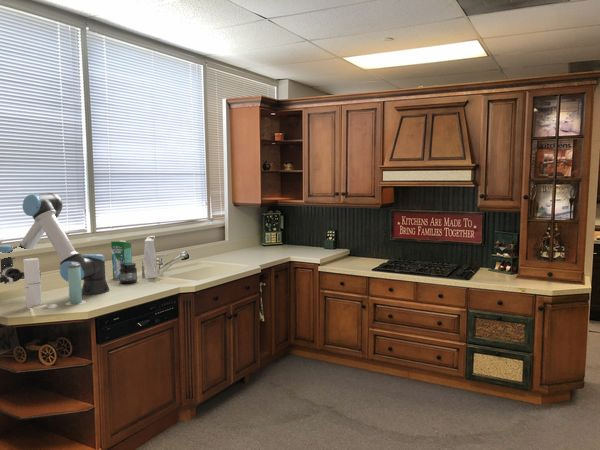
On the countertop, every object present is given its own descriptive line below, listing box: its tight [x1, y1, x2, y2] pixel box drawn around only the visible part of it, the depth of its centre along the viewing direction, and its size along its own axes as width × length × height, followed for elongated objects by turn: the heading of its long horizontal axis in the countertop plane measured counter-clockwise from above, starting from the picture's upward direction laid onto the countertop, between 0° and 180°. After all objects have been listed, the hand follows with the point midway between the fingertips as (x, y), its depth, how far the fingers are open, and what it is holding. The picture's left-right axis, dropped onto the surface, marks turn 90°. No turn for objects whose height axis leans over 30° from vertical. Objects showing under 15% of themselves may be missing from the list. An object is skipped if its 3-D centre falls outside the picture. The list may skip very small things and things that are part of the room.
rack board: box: [36, 299, 87, 310], centre depth 254 cm, size 24×12×1 cm, turn 123°
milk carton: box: [110, 240, 133, 280], centre depth 328 cm, size 9×9×25 cm
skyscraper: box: [141, 235, 158, 280], centre depth 326 cm, size 8×8×28 cm
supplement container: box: [119, 262, 138, 285], centre depth 313 cm, size 10×10×12 cm
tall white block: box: [23, 257, 43, 309], centre depth 256 cm, size 7×7×25 cm
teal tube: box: [67, 264, 83, 305], centre depth 257 cm, size 6×6×20 cm
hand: (26, 279), depth 261 cm, fingers open, 13 cm apart
